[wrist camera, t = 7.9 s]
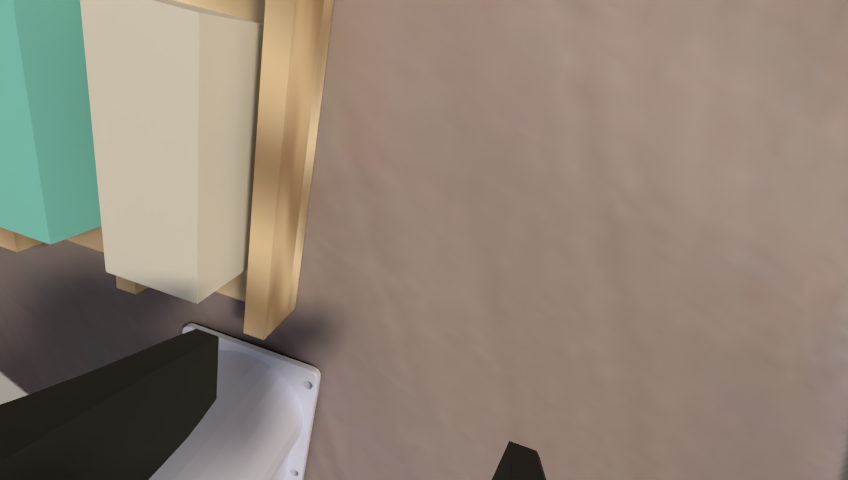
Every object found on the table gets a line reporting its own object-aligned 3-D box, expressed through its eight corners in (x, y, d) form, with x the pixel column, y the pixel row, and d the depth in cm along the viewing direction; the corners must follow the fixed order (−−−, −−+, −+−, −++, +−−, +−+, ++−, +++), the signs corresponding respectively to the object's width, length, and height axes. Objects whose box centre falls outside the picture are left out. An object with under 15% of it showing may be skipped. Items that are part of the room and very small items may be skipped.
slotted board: (295, 308, 21) (263, 340, 18) (58, 226, 23) (-1, 246, 20) (338, -36, 15) (300, -58, 12) (9, -115, 16) (-84, -149, 14)
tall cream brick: (257, 261, 19) (197, 304, 16) (182, 235, 20) (105, 271, 16) (276, 27, 15) (199, 12, 12) (180, 1, 16) (77, -20, 12)
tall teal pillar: (136, 213, 20) (50, 244, 16) (64, 190, 20) (-34, 214, 17) (122, -25, 16) (4, -53, 12) (34, -48, 16) (-105, -82, 13)
